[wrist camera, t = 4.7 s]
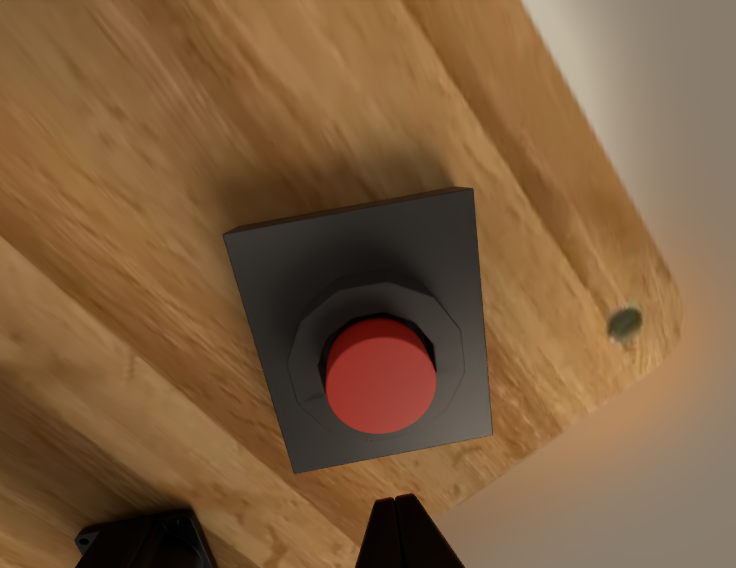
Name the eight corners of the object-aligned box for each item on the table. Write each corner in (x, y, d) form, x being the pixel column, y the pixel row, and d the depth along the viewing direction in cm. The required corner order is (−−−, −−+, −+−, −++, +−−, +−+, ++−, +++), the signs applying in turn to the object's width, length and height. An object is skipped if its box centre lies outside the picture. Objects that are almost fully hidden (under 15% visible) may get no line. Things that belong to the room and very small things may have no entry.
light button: (431, 395, 15) (442, 422, 13) (337, 413, 15) (337, 444, 13) (419, 308, 14) (430, 326, 12) (317, 327, 14) (314, 348, 12)
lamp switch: (477, 407, 20) (509, 463, 16) (298, 442, 19) (288, 507, 16) (456, 186, 16) (492, 189, 12) (237, 226, 16) (204, 242, 12)
